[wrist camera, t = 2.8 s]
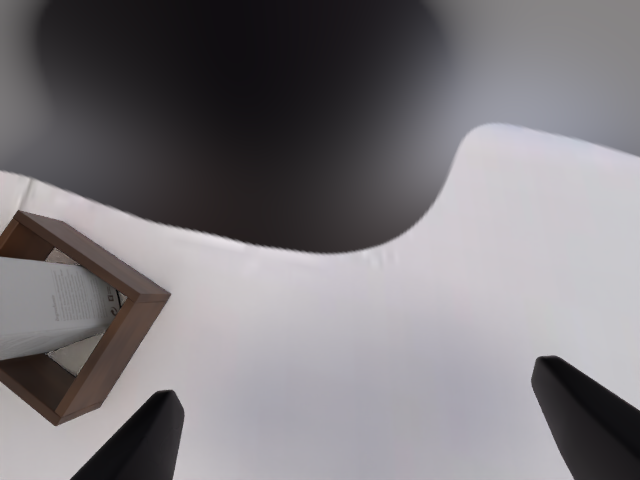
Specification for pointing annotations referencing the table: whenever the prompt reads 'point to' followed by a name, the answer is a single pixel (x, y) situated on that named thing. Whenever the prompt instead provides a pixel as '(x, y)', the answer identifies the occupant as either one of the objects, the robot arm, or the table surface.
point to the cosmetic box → (50, 306)
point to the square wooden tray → (114, 347)
